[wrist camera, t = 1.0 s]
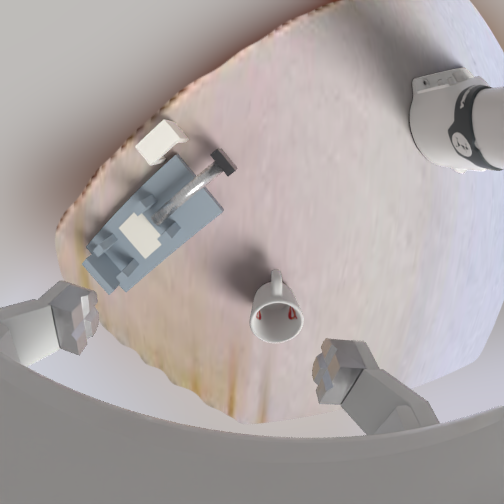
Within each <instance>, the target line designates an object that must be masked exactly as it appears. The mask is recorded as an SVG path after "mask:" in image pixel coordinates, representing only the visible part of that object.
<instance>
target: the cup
mask: <svg viewBox="0 0 504 504" xmlns="http://www.w3.org/2000/svg"><path fill="white" fill-rule="evenodd" d="M303 321H304V318H303V313H302V311H301V309H300V307H299V304H298V302H297V300H296V298H295V296H294V294H293V292H292V290H291V289H290V288H289V287H288V286H287V285H285V284H283V283H282V276H281V272H280V270H272V272H271V282H269V283H266V284H264V285H262V286H261V287H260V288H259V289H258V290H257V292H256V294H255V297H254V301H253V306H252V311H251V315H250V328H251V330H252V332H253V333H254V335H255V336H256V337H258V338H259V339H261V340H262V341H265V342H268V343H282V342H286V341H288V340H290V339H292V338H294V337H295V336H296V335H297V334H298V333H299V332H300V330H301V328H302V326H303Z"/></svg>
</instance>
